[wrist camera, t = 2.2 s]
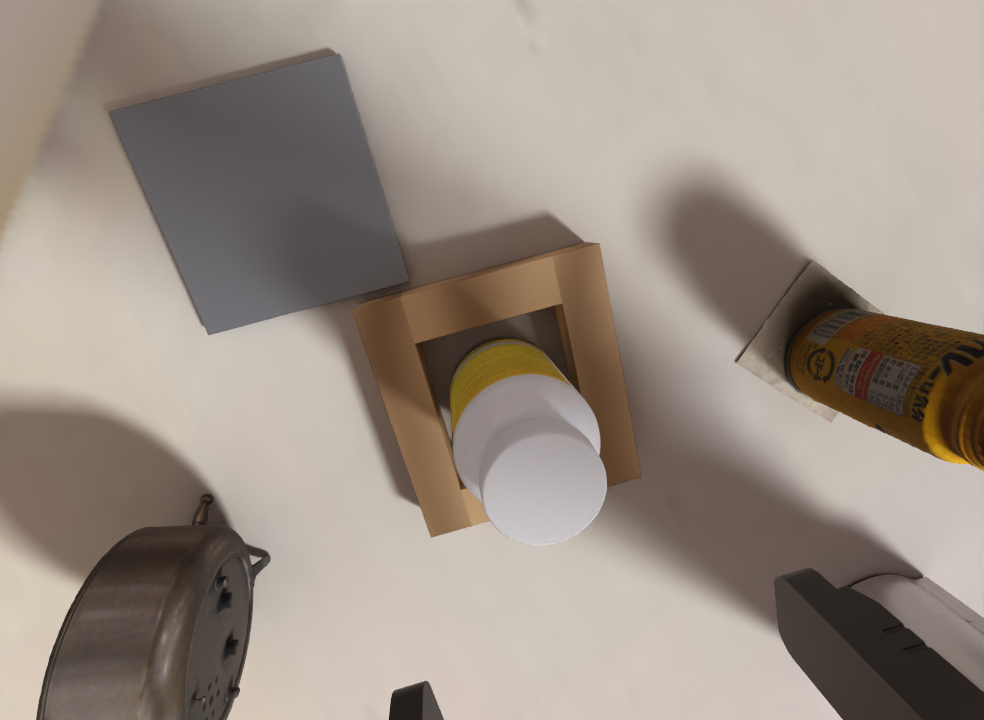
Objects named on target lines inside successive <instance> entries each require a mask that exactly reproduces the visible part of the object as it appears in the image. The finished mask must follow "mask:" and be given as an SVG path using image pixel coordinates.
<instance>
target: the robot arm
mask: <svg viewBox="0 0 984 720" xmlns="http://www.w3.org/2000/svg"><path fill="white" fill-rule="evenodd" d="M774 584H775V596H776V607H777V618H778V628H779V632H780V635H781V638H782V640H783V642H784V645H785V646H786V648H787V650H788V652H789V653H790V655H791V656H792V658H793V659H794V660H795V662H796V663H797V664H798V665H799V667H800V668H801V669H802V670H803V671H804V673H805V674H806V675H807V676H808V678H809V679H810V680H811V681H812V682H813V684H814V685H815V686H816V687H817V688H818V690H819V691H820V692H821V693H822V695H823V696H824V697H825V698H826V699H827V701H828V702H829V703H830V704H831V706H832V707H833V708H834V709H835V710H836V712H837V713H838V714H839V715H840V717H841V718H842V719H843V720H984V618H983V617H982V616H980V615H979V614H978V613H976V612H975V611H973V610H972V609H971V608H969V607H968V606H966V605H965V604H964V603H962V602H961V601H959V600H958V599H957V598H955V597H954V596H952V595H951V594H950V593H948V592H947V591H946V590H944V589H943V588H941V587H940V586H939V585H937V584H936V583H934V582H933V581H932V580H930V579H929V578H927V577H924V578H920V579H915V580H914V579H910V578H907V577H904V576H901V575H881V576H876V577H872V578H869V579H865V580H863V581H861V582H859V583H857V584H855V585H853V586H852V587H848V586H846V587H843V588H839V589H836V588H835V587H834V586H832V585H831V584H830V583H829V582H828V581H827V580H826V579H825V578H824V577H823V576H821V575H820V574H819V573H818V572H817V571H815V570H813V569H811V568H806V569H803V570H799V571H796V572H793V573H789V574H786V575H783V576H779V577H777V578H776V579H775V582H774ZM389 720H444V719H443V716H442V714H441V711H440V709H439V706H438V704H437V701H436V699H435V696H434V694H433V691H432V689H431V686H430V684H429V682H428V681H424V682H421V683H417V684H414V685H411V686H407V687H404V688H401V689H397V690H395V691H394V692H393V693H392V697H391V704H390V714H389Z"/></svg>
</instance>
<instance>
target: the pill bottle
mask: <svg viewBox="0 0 984 720" xmlns="http://www.w3.org/2000/svg"><path fill="white" fill-rule="evenodd" d="M450 408H451V426H452V442H453V454H454V461H455V465H456V468H457V471H458V474H459V476H460V478H461V480H462V482H463V484H464V485H465V486H466V488H467V489H468V491H469V492H470V493H471V494H472V495H473V496H474V497H475V498H476V499H477V500H479V501H480V502H481V503H482V504H483V508H484V510H485V513H486V515H487V517H488V519H489V520H490V522H491V523H492V524H493V525H494V527H495V528H496V529H497V530H498V531H499V532H501V533H502V534H503V535H505V536H506V537H508V538H510V539H512V540H514V541H517V542H520V543H524V544H529V545H548V544H554V543H558V542H561V541H564V540H567V539H569V538H571V537H573V536H575V535H576V534H578V533H579V532H581V531H582V530H583V529H585V528H586V527H587V526H588V525H589V524H590V523H591V522H592V521H593V520H594V518H595V517H596V516H597V514H598V512H599V511H600V509H601V507H602V505H603V502H604V500H605V496H606V491H607V476H606V471H605V468H604V465H603V463H602V460H601V459H600V457H599V453H600V432H599V427H598V423H597V420H596V417H595V415H594V413H593V411H592V409H591V408H590V406H589V405H588V403H587V402H586V400H585V399H584V398H583V397H582V396H581V395H580V394H579V392H578V391H577V390H576V389H575V388H574V387H573V386H572V384H571V383H570V382H569V381H568V380H567V378H566V377H565V376H564V375H563V374H562V373H561V372H560V370H559V369H558V368H557V367H556V366H555V364H554V363H553V362H552V361H551V359H550V358H549V357H548V356H547V355H546V354H545V352H544V351H543V350H541V349H540V348H539V347H537V346H536V345H535V344H533V343H531V342H529V341H526V340H524V339H520V338H515V337H496V338H492V339H488V340H486V341H483V342H481V343H479V344H477V345H476V346H474V347H473V348H471V349H470V350H469V351H468V352H467V353H466V354H465V355H464V356H463V357H462V358H461V360H460V361H459V362H458V364H457V366H456V368H455V369H454V372H453V375H452V378H451V383H450Z"/></svg>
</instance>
